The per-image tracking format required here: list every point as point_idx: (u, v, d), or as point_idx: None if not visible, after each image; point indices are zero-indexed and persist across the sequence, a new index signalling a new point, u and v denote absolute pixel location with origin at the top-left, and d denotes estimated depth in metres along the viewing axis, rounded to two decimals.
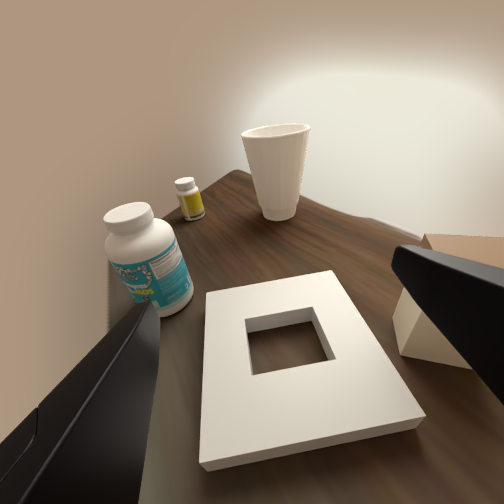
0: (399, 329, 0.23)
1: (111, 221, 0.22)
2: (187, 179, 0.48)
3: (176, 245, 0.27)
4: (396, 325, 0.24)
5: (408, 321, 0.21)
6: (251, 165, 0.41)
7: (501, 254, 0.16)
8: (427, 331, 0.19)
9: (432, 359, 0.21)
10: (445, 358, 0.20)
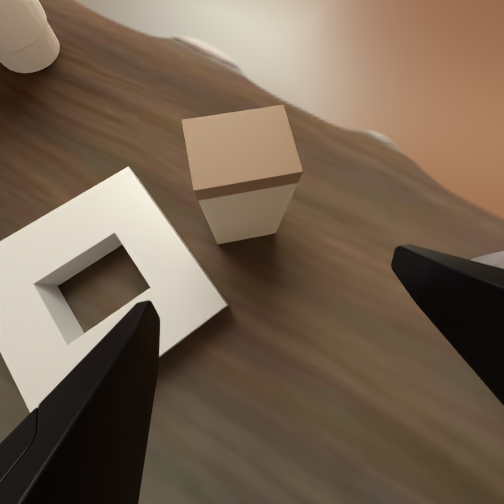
0: None
1: None
2: None
3: None
4: None
5: None
6: None
7: (258, 142, 0.13)
8: (224, 228, 0.19)
9: (242, 238, 0.23)
10: (250, 235, 0.22)
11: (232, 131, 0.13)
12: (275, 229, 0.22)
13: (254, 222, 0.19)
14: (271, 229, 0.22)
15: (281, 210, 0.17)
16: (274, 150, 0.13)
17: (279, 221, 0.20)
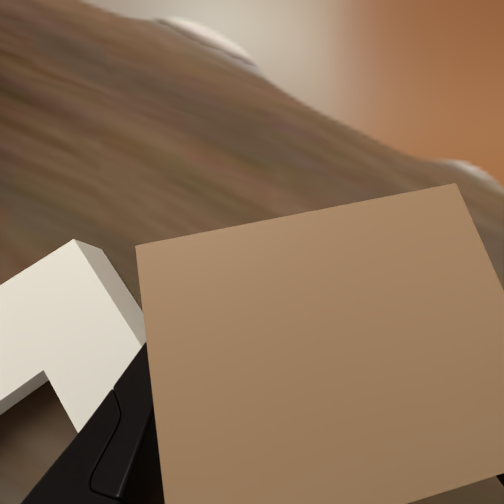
0: None
1: None
2: None
3: None
4: None
5: None
6: None
7: (400, 327, 0.04)
8: None
9: None
10: None
11: (307, 286, 0.04)
12: None
13: None
14: None
15: None
16: (458, 360, 0.04)
17: None
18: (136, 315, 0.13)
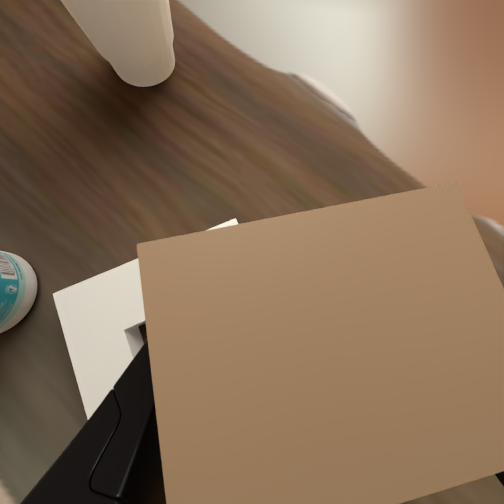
0: None
1: None
2: None
3: None
4: None
5: None
6: None
7: (401, 326, 0.04)
8: None
9: None
10: None
11: (308, 284, 0.04)
12: None
13: None
14: None
15: None
16: (458, 358, 0.04)
17: None
18: None
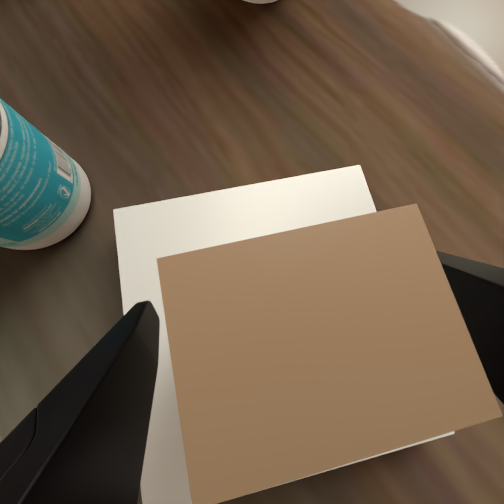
0: None
1: None
2: None
3: None
4: None
5: None
6: None
7: (368, 322, 0.05)
8: None
9: None
10: None
11: (294, 289, 0.05)
12: None
13: None
14: None
15: None
16: (414, 346, 0.05)
17: None
18: None
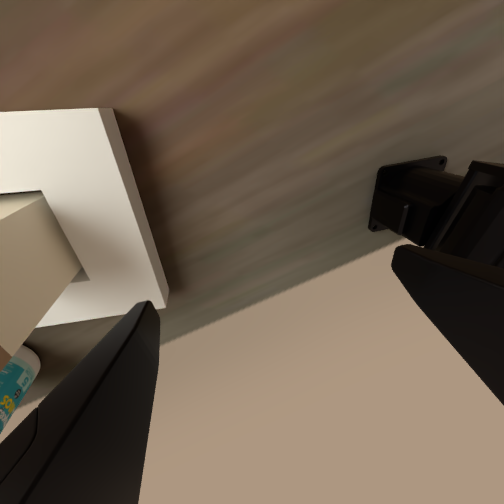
0: None
1: None
2: None
3: None
4: None
5: None
6: None
7: None
8: (58, 276, 0.16)
9: None
10: None
11: None
12: None
13: (36, 248, 0.15)
14: (47, 206, 0.16)
15: None
16: None
17: (26, 208, 0.14)
18: None
